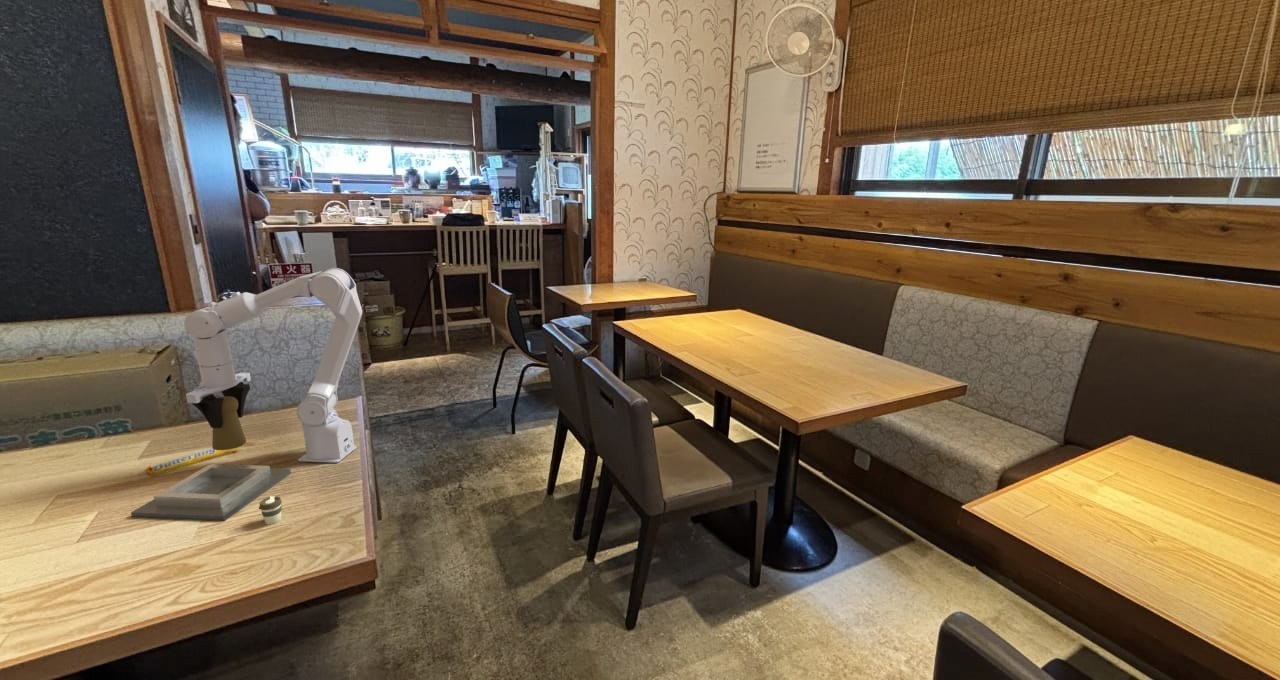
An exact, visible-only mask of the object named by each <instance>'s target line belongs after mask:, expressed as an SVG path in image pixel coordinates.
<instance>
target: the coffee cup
mask: <svg viewBox="0 0 1280 680" xmlns="http://www.w3.org/2000/svg"><path fill="white" fill-rule="evenodd" d="M258 509H259V510H260V511H261V515H262V518H263V520H264V522H265V525H267V526H271V525H275V524H278V523H280V522H281V520H282V510H283V508H282V499H281V497H280V496H278V495H273V496H271V495H270V496H267V497H265V498H264V499H262V500H261V501H260V502H259V506H258Z"/></svg>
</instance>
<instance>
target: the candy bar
mask: <svg viewBox="0 0 1280 680" xmlns="http://www.w3.org/2000/svg"><path fill="white" fill-rule="evenodd" d="M238 450H241V446H240V447H237V448H234V449H229V450H214V449H213V448H212V449H208V450H205V451H200V452H198V453H194V454H191V455H187V456H184V457H180V458H177V459H173V460H171V461H167V462H164V463H160V464H156V465H154V466H152V465H149V466H148V467H147V468H146V469H144V470H143V471H145V472H146V473H149V475H151V476H153V475H154V476H156V475H157V474H158V475H161V474H164V472H165V473H168V472H167V471H169V472H172V471H175V469H176V470H179V469H183V468H186V467H189V465H190V466H194V465H196V464H199V463H203V462H207V461H210V460H213V459H217V458H220V457H224V456H228V455H230V454H232V453H235V452H236V451H238ZM151 466H152V467H151ZM182 467H183V468H182ZM178 468H179V469H178ZM171 470H172V471H171ZM160 473H161V474H160Z"/></svg>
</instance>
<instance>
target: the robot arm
mask: <svg viewBox="0 0 1280 680" xmlns="http://www.w3.org/2000/svg"><path fill="white" fill-rule="evenodd" d="M230 296H231V297H230V298H226V299H224V300H222V301H219V302H215V301H212V302H211V303H208V304H207V306H206V307H204V308H201V309H198V310H194V311H193V312H191V313H190V314H188V315H187V316H186V317H185V319H184V322H183V323H184V324H183V325H184V326H183V327H184V328H185V331H186V332H187V333H188V334H189V335H190V336H192V339H193V345H194V346H193V347H194V350H195V356H196V359H197V360H196V361H197V364H198V369H199V373H200V378H201V382H199V383H198V385H199V386H198V387H196V388H195V389H193V390H192V391H191V392H188V393H186V394H185V396H186V403H188V404H191V405H193V406H194V407H195V408H196V409H197V410H199V412H201V414H202V415H203V416H204V418H205V420H206V421H207V422H208V425H209V426H210V428H211V429H213V428H221V427H223V420H222V403H223V400H224V398H218V397H217V396H216V394H218V393H222V395H223V397H224V396H231V397H234V398H236V399H237V401H238V409H237V410H236V411H237V414H238V417H239V419H240V418H243V417H244V409H245V403H246V399H247V396H248V393H249V391H250V389H251V385H250V384H248V383H247V382H251V380H252V379H251V373H250V372H243V371H242V372H239V373H236V372H235V368H234V363H233V357H232V353H231V348H230V341H229V338H228V333H227V331H228V330H227V329H232V328H235V327H237V326H239V325H241V324H244V323H247V322H249V321H252V320H254V319H258V318H260V317H261V316H262V315H263V312H264V310H265V309H266V308H268V307H270V306H273V305H275V304H278V303H282V302H284V301H286V300H289V299H292V298H294V297H298V296H300V297H303V298H309V299H311V298H312V297H314V298H315V299H317V300H318V301H320V302H321V303H322V304H324V306H326V307H328V309H329V310H330V311H331V313H332V314H333V315H334V316H335V319H334V321H333V325H332V327H331V331H330V332H329V333H330V334H329V336H328V340H327V341H326V346H325V347H324V351H323V354H322V357H321V360H320V361H319V365H318V367H317V371H316V373H315V376H314V380H313V382H312V384H311V386H310V388H309V390H308V391H307V394H306V397H305V399H303V400H302V401H300V403H299V404H298V406H297V408H296V416H297V418H298V420H299V421H300V422H301V425H302V432H303V438H304V445H305V450H306V451H305V452H306V453H304V454H303V455H302V456H300V457H299V458H298V460H297V461H298V462H311V463H336V464H337V463H339V462H341V461H342V460H343V459H344V458H345V457H347V456H349V454H351V452H353V451H354V450H356V449H357V447H358V446H357V445H355V440H354V433H353V426H352V423H351V422H350V421H349V420H348V419H343V418H341V417H340V416H339V415H338V412H337V410H336V409H335V408H336V405H337V404H338V400H339V398H338V391H337V390H338V388H339V381H340V379H341V375H342V372H343V369H344V367H345V364H346V361H347V358H348V355H349V353H350V350H351V347H352V344H353V342H354V339H355V336H356V333H357V330H358V327H359V325H360V322H361V319H362V316H363V308H362V305H361V301H360V299H359V294H358V291H357V284H356V282H355V281H354V279H353V278H352V277H351V275H350V274H349V273H348V272H347V271H345V270H344V269H342V268H339V267H330V268H327V269H326V270H325V271H323V272H322V270H321V271H320V270H319V271H316V272H312V273H308V274H304V275H301V276H298V277H296V278H294V279H291V280H288V281H287V282H285V283H282V284H279V285H277V286H275V287H272V288H269V289H266V290H265V291H263V292H259V293H258V294H255V293H251V292H248V291H246V292H242V293H241V292H240V291H237V292H234V293H231V294H230ZM245 383H247V384H245ZM214 395H215V396H214Z"/></svg>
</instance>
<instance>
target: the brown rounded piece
mask: <svg viewBox="0 0 1280 680" xmlns="http://www.w3.org/2000/svg"><path fill="white" fill-rule="evenodd" d="M217 398H224V400H223V403H222V420H223V427H221V428H212V449H214V450H229V449H234V448H237V447H240V448H241V447H242V446H243V445H245V444H246V443H247V439H246V437H245V434H244V430H243V426H242V424H241V421H240V418H239V417H238V414H237V411H236V410H237V409H238V401H237V399H236V398H234V397H231V396H224V395H223V396H219V397H217Z"/></svg>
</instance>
